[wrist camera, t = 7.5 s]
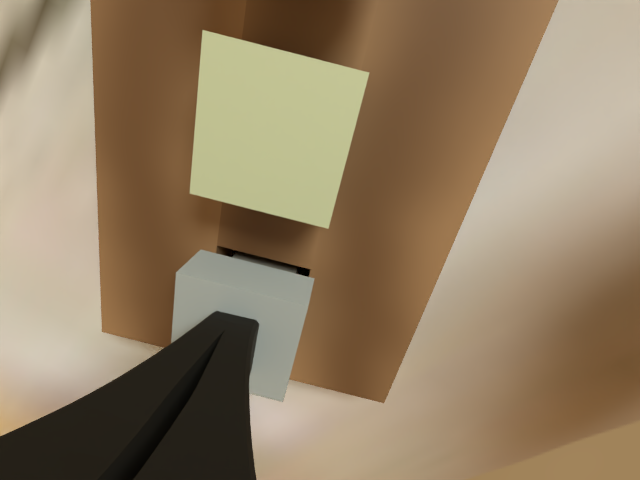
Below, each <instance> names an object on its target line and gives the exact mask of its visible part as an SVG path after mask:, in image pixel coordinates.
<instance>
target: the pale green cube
mask: <svg viewBox="0 0 640 480" xmlns="http://www.w3.org/2000/svg"><path fill="white" fill-rule="evenodd" d="M368 76H369V72H365V71H361V70H357V69H353V68H349V67H345V66H341V65H338V64H334V63H330V62H326V61H322V60H318V59H314V58H310V57H306V56H302V55H299V54H295V53H291V52H287V51H283V50H279V49H275V48H271V47H267V46H263V45H260V44H256V43H252V42H248V41H244V40H240V39H236V38H232V37H228V36H224V35H221V34H217V33H213V32H209V31H205V30H202V43H201V56H200V68H199V81H198V93H197V106H196V119H195V131H194V144H193V156H192V169H191V182H190V194H194V195H198V196H201V197H205V198H209V199H213V200H217V201H221V202H225V203H229V204H233V205H237V206H241V207H245V208H249V209H253V210H256V211H260V212H264V213H268V214H272V215H276V216H280V217H284V218H288V219H292V220H296V221H300V222H304V223H307V224H311V225H315V226H319V227H323V228H327V229H328V228H329V225H330V221H331V217H332V213H333V209H334V206H335V202H336V198H337V194H338V190H339V187H340V183H341V179H342V175H343V171H344V168H345V164H346V160H347V156H348V152H349V149H350V145H351V141H352V137H353V133H354V130H355V126H356V122H357V118H358V114H359V111H360V107H361V103H362V99H363V95H364V92H365V88H366V84H367V80H368Z"/></svg>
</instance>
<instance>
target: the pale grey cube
mask: <svg viewBox="0 0 640 480" xmlns="http://www.w3.org/2000/svg"><path fill="white" fill-rule="evenodd" d="M297 269H298V266H295V265H292V264H288V263H284V262H280V261H276V260H272V259H268V258H264V257H260V256H256V255H252V254H248V253H244V252H240V251H237V252H236V253H235V254H234V256H233V257H228V256H224V255H221V254H217V253H213V252H209V251H205V250H200V251H199V252H197V253H196V254H195V255H194V256H193V257H192V258H191V259H190V260H189V261H188V262H187V263H186V264H185V265H184V266H182V267H181V268H180V269H179V270H178V271H177V272H176V280H175V294H174V309H173V323H172V338H171V343H172V342H174V341H175V340H177V339H178V338H180V337H181V336H182V335H184V334H185V333H186V332H188V331H189V330H191V329H192V328H193V327H195V326H196V325H197V324H199V323H200V322H201V321H203V320H204V319H205V318H206V317H208V316H209V315H210V314H212V313H213V312H215V311H220V312H224V313H229V314H233V315H237V316H241V317H246V318H250V319H254V320H257V322H258V323H259V329H258V335H257V341H256V346H255V352H254V358H253V364H252V370H251V373H250V377H249V394H253V395H257V396H261V397H265V398H269V399H273V400H277V401H281V402H283V401H284V397H285V393H286V389H287V385H288V382H289V378H290V374H291V370H292V366H293V363H294V359H295V355H296V351H297V347H298V344H299V340H300V336H301V332H302V328H303V325H304V321H305V317H306V313H307V310H308V306H309V301H310V297H311V292H312V288H313V283H314V279H315V278H311V277H307V276H303V275H299V274H297Z"/></svg>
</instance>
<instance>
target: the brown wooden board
mask: <svg viewBox="0 0 640 480" xmlns="http://www.w3.org/2000/svg"><path fill="white" fill-rule="evenodd" d="M557 3H558V0H91V27H92V55H93V84H94V113H95V141H96V170H97V199H98V227H99V256H100V284H101V313H102V332H105V333H109V334H113V335H117V336H121V337H125V338H129V339H133V340H137V341H141V342H145V343H149V344H153V345H157V346H160V347H164V348H165V347H167V346H168V345H170V344H171V338H172V323H173V309H174V294H175V280H176V272H177V271H178V270H179V269H180V268H181V267H182V266H184V265H185V264H186V263H187V262H188V261H189V260H190V259H191V258H192V257H193V256H194V255H195V254H196V253H197V252H199V251H200V250H205V251H209V252H213V253H217V254H221V255H224V256H228V257H231V256H232V249H233V250H236V251H240V252H244V253H248V254H252V255H256V256H260V257H264V258H268V259H272V260H276V261H280V262H284V263H288V264H292V265H295V266H299V267H303V268H307V269H311V270H310V274H309V277H311V278H315V279H314V283H313V288H312V292H311V297H310V301H309V306H308V310H307V313H306V317H305V321H304V325H303V328H302V332H301V336H300V340H299V344H298V347H297V351H296V355H295V359H294V363H293V366H292V370H291V374H290V378H289V379H291V380H295V381H299V382H303V383H307V384H311V385H315V386H318V387H322V388H326V389H330V390H334V391H338V392H342V393H346V394H350V395H354V396H358V397H362V398H366V399H370V400H374V401H378V402H382V403H384V402H385V400H386V397H387V395H388V393H389V390H390V388H391V386H392V383H393V381H394V379H395V376H396V374H397V372H398V370H399V367H400V365H401V363H402V360H403V358H404V356H405V353H406V351H407V349H408V346H409V344H410V342H411V340H412V337H413V335H414V333H415V330H416V328H417V326H418V323H419V321H420V319H421V316H422V314H423V312H424V310H425V307H426V305H427V303H428V300H429V298H430V296H431V293H432V291H433V289H434V286H435V284H436V282H437V280H438V277H439V275H440V273H441V270H442V268H443V266H444V263H445V261H446V259H447V256H448V254H449V252H450V250H451V247H452V245H453V243H454V240H455V238H456V236H457V233H458V231H459V229H460V226H461V224H462V222H463V220H464V217H465V215H466V213H467V210H468V208H469V206H470V203H471V201H472V199H473V196H474V194H475V192H476V189H477V187H478V185H479V183H480V180H481V178H482V176H483V173H484V171H485V169H486V166H487V164H488V162H489V159H490V157H491V155H492V153H493V150H494V148H495V146H496V143H497V141H498V139H499V136H500V134H501V132H502V129H503V127H504V125H505V123H506V120H507V118H508V116H509V113H510V111H511V109H512V106H513V104H514V102H515V99H516V97H517V95H518V93H519V90H520V88H521V86H522V83H523V81H524V79H525V76H526V74H527V72H528V69H529V67H530V65H531V63H532V60H533V58H534V56H535V53H536V51H537V49H538V46H539V44H540V42H541V39H542V37H543V35H544V33H545V30H546V28H547V26H548V23H549V21H550V19H551V16H552V14H553V12H554V9H555V7H556V5H557ZM202 30H205V31H209V32H213V33H217V34H221V35H224V36H228V37H232V38H236V39H240V40H244V41H248V42H252V43H256V44H260V45H263V46H267V47H271V48H275V49H279V50H283V51H287V52H291V53H295V54H299V55H302V56H306V57H310V58H314V59H318V60H322V61H326V62H330V63H334V64H338V65H341V66H345V67H349V68H353V69H357V70H361V71H365V72H369V76H368V80H367V84H366V88H365V92H364V95H363V99H362V103H361V107H360V111H359V114H358V118H357V122H356V126H355V130H354V133H353V137H352V141H351V145H350V149H349V152H348V156H347V160H346V164H345V168H344V171H343V175H342V179H341V183H340V187H339V190H338V194H337V198H336V202H335V206H334V209H333V213H332V217H331V221H330V225H329V228H328V229H327V228H323V227H319V226H315V225H311V224H307V223H304V222H300V221H296V220H292V219H288V218H284V217H280V216H276V215H272V214H268V213H264V212H260V211H256V210H253V209H249V208H245V207H241V206H237V205H233V204H229V203H225V202H221V201H217V200H213V199H209V198H205V197H201V196H198V195H194V194H190V182H191V169H192V156H193V144H194V131H195V119H196V106H197V93H198V81H199V68H200V56H201V43H202Z"/></svg>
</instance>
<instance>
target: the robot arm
mask: <svg viewBox="0 0 640 480" xmlns="http://www.w3.org/2000/svg"><path fill="white" fill-rule="evenodd" d="M258 329H259V323H258V322H257V320H254V319H250V318H246V317H241V316H237V315H233V314H229V313H224V312H220V311H215V312H213V313H212V314H210V315H209V316H208V317H206V318H205V319H204V320H203V321H201V322H200V323H199V324H197V325H196V326H195V327H193V328H192V329H191V330H189V331H188V332H186V333H185V334H184V335H182V336H181V337H180V338H178V339H177V340H175V341H174V342H172V343H171V344H170V345H168V346H167V347H165V348H164V349H162V350H161V351H159V352H158V353H156V354H155V355H153V356H152V357H150V358H149V359H147V360H146V361H144V362H142V363H141V364H139V365H138V366H136V367H134V368H133V369H131V370H130V371H128V372H127V373H125V374H123V375H122V376H120V377H118V378H117V379H115V380H113V381H111V382H110V383H108V384H106V385H104V386H103V387H101V388H99V389H97V390H95V391H93V392H92V393H90V394H88V395H86V396H84V397H82V398H80V399H79V400H77V401H75V402H73V403H71V404H69V405H67V406H65V407H63V408H61V409H59V410H56V411H54V412H52V413H50V414H48V415H46V416H44V417H42V418H40V419H38V420H35V421H33V422H31V423H29V424H27V425H25V426H23V427H21V428H18V429H16V430H14V431H12V432H9V433H7V434H5V435H2V436H0V480H256V474H255V467H254V459H253V450H252V439H251V427H250V408H249V377H250V373H251V370H252V364H253V358H254V352H255V346H256V341H257V335H258Z"/></svg>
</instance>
